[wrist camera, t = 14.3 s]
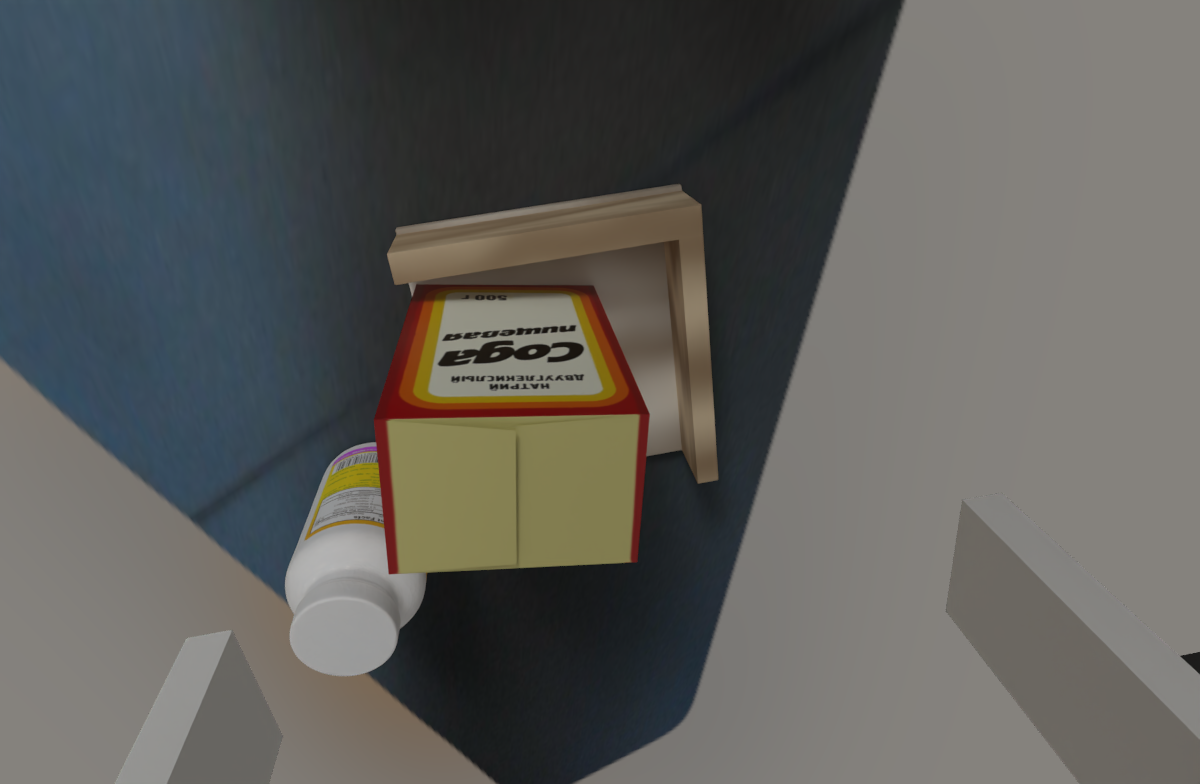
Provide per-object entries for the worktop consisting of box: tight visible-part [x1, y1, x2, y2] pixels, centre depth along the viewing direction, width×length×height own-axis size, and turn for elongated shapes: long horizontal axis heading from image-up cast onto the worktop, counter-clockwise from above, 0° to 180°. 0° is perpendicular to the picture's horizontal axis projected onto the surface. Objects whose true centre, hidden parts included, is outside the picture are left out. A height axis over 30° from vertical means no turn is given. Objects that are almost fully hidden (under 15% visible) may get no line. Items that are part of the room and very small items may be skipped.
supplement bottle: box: [285, 442, 427, 676], centre depth 38 cm, size 7×7×13 cm
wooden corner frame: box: [387, 184, 718, 484], centre depth 40 cm, size 16×15×4 cm
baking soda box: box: [374, 284, 650, 574], centre depth 33 cm, size 10×6×16 cm
